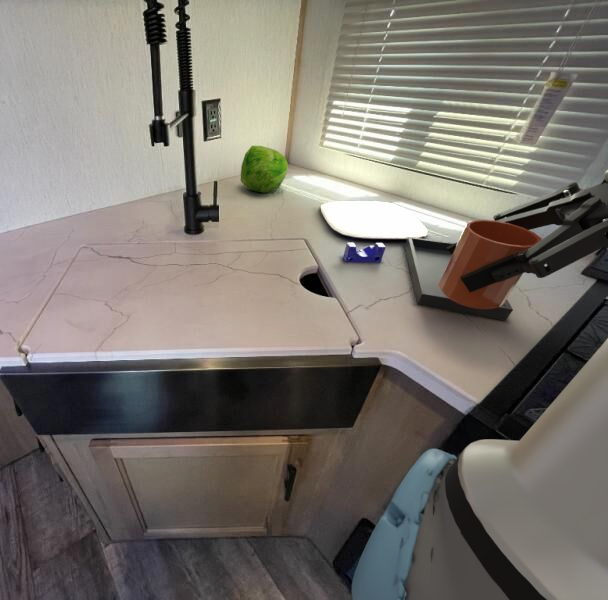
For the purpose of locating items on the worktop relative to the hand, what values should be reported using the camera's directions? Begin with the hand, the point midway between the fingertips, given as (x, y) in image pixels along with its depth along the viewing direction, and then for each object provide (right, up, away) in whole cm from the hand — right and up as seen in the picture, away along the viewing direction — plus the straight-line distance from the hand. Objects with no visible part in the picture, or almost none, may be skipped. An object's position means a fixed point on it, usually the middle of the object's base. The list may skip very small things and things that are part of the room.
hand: (457, 268), depth 55 cm
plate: (+6, +17, +43) cm, 46 cm away
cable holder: (-4, +5, +27) cm, 27 cm away
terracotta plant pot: (+3, -4, +2) cm, 5 cm away
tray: (+12, 0, +20) cm, 23 cm away
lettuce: (-21, +33, +65) cm, 76 cm away
